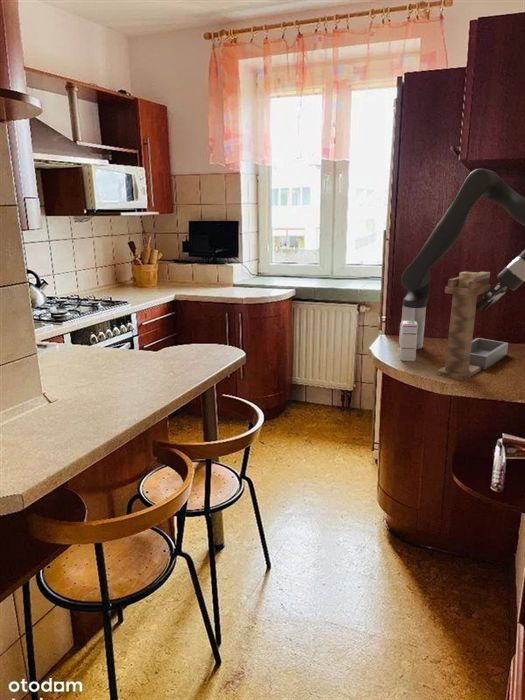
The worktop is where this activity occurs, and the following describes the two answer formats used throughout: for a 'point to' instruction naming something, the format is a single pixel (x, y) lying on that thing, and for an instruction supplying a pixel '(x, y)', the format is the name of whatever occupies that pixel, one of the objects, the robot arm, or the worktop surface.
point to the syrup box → (408, 340)
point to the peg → (470, 277)
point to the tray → (487, 352)
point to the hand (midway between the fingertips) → (479, 308)
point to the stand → (462, 327)
